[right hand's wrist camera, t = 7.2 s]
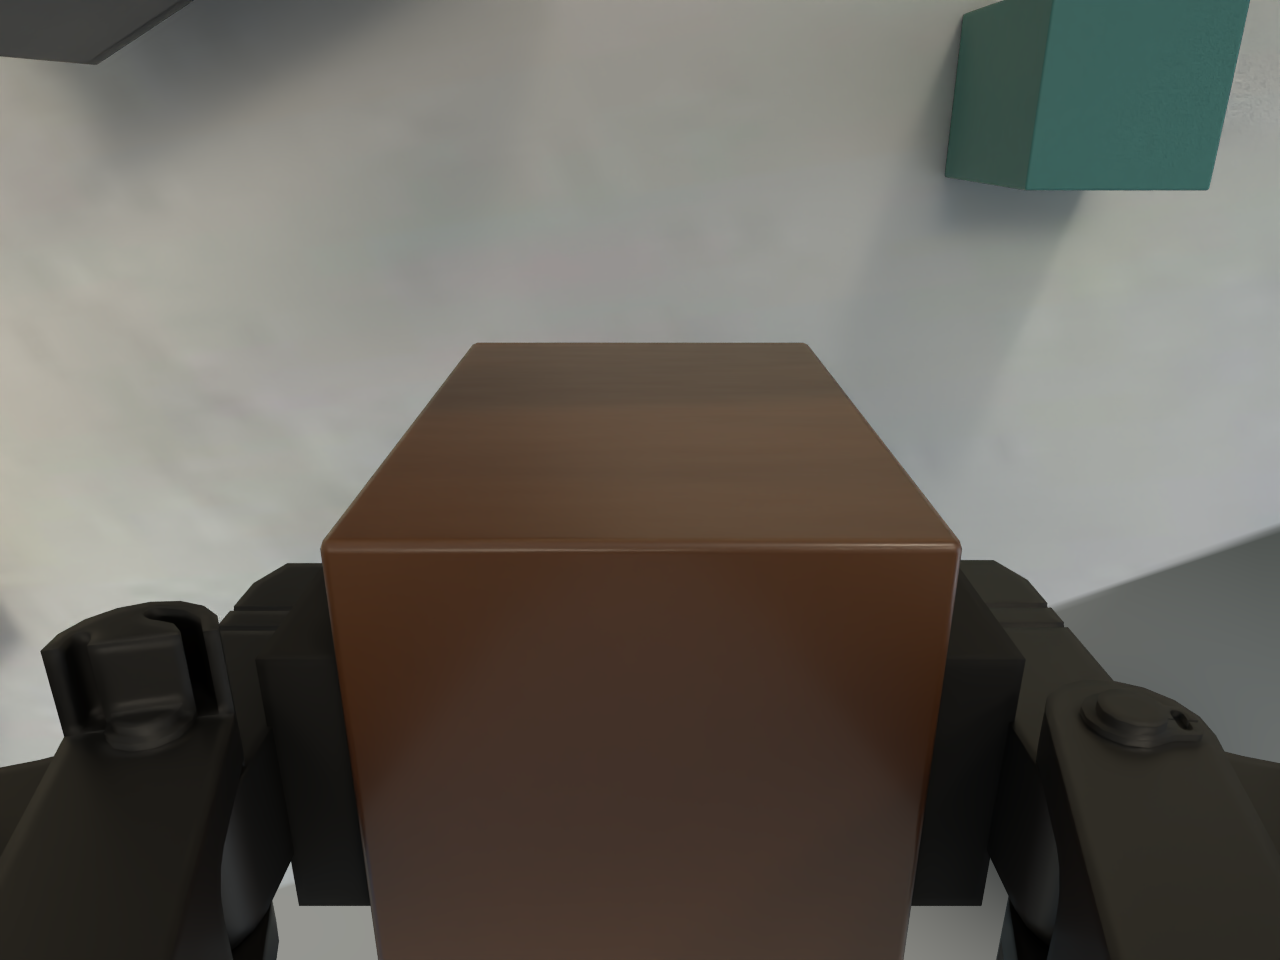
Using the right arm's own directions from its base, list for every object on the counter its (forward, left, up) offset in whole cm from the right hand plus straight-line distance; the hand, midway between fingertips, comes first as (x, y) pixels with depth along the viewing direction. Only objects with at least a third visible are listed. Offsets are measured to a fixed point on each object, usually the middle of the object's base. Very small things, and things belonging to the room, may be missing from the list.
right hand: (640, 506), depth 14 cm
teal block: (-12, +8, -20) cm, 24 cm away
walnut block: (0, 0, 0) cm, 0 cm away
